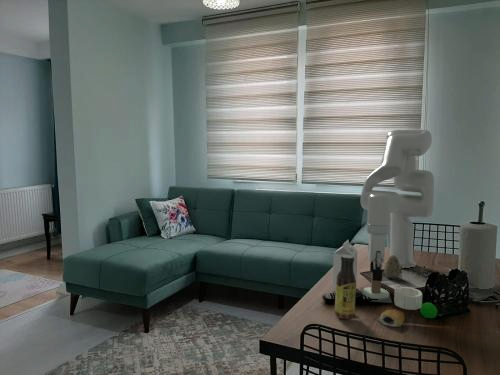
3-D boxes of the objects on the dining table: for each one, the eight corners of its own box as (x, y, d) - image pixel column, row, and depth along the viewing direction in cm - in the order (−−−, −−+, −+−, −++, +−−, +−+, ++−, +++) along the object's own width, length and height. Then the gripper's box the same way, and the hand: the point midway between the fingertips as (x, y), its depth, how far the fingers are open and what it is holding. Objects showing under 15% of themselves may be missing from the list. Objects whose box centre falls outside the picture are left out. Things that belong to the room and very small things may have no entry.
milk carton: (332, 293, 150) (333, 242, 147) (337, 286, 156) (339, 238, 153) (351, 296, 147) (353, 245, 144) (356, 289, 153) (358, 240, 150)
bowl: (393, 299, 143) (393, 286, 143) (418, 301, 142) (419, 288, 141) (396, 310, 135) (396, 295, 135) (423, 312, 134) (423, 297, 133)
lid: (361, 289, 152) (362, 270, 151) (387, 291, 150) (387, 272, 149) (363, 298, 143) (363, 279, 142) (390, 301, 141) (391, 281, 140)
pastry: (388, 313, 134) (389, 302, 133) (409, 319, 129) (410, 308, 129) (377, 323, 126) (378, 312, 126) (399, 330, 122) (399, 318, 122)
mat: (360, 289, 153) (360, 287, 153) (388, 291, 151) (388, 289, 151) (361, 302, 142) (362, 300, 142) (392, 304, 140) (392, 302, 140)
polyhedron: (420, 320, 128) (421, 305, 128) (419, 313, 133) (419, 299, 132) (437, 322, 127) (438, 307, 126) (435, 315, 131) (436, 301, 131)
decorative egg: (385, 275, 167) (386, 252, 166) (400, 278, 164) (402, 254, 163) (383, 280, 162) (384, 256, 161) (398, 283, 159) (400, 258, 158)
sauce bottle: (343, 322, 127) (345, 260, 124) (330, 314, 133) (331, 255, 130) (359, 317, 130) (361, 257, 127) (346, 309, 136) (347, 252, 133)
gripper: (365, 223, 152) (363, 267, 154) (368, 233, 135) (366, 283, 137) (386, 224, 150) (384, 269, 152) (392, 235, 134) (389, 285, 136)
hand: (375, 275), depth 145 cm, fingers open, 9 cm apart
